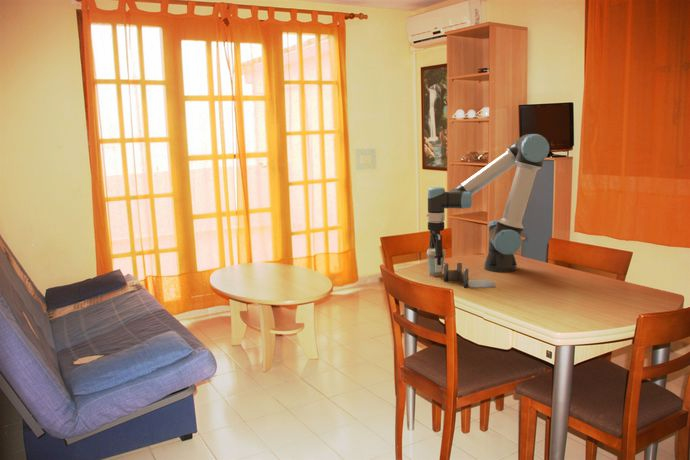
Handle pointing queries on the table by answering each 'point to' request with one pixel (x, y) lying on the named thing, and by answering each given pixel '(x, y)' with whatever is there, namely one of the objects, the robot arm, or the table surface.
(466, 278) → the rail
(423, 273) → the table surface
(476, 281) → the coaster
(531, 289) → the table surface
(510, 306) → the table surface
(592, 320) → the table surface
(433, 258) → the coffee cup
